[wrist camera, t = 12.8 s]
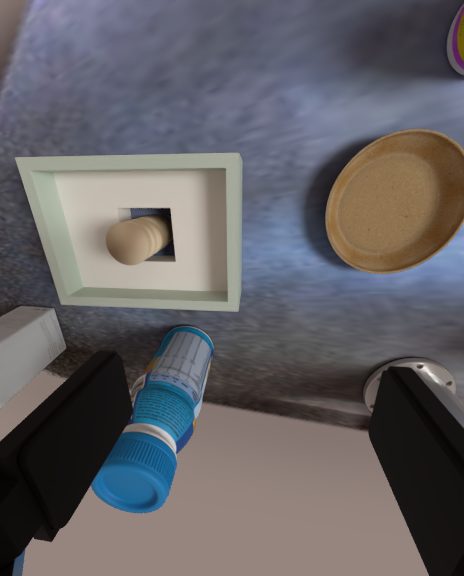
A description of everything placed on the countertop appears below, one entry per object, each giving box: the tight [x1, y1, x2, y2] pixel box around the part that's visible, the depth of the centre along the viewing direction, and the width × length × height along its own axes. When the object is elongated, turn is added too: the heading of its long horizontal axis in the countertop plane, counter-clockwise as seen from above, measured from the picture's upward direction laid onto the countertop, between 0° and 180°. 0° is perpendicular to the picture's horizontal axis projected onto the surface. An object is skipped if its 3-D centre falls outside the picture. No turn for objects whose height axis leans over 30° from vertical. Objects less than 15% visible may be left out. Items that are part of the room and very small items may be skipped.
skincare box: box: [0, 306, 67, 408], centre depth 33 cm, size 8×6×15 cm
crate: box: [15, 153, 242, 312], centre depth 29 cm, size 16×22×6 cm
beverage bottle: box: [91, 326, 214, 513], centre depth 29 cm, size 8×8×20 cm
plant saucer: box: [325, 129, 464, 274], centre depth 27 cm, size 15×15×3 cm
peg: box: [106, 214, 173, 266], centre depth 28 cm, size 4×4×8 cm
